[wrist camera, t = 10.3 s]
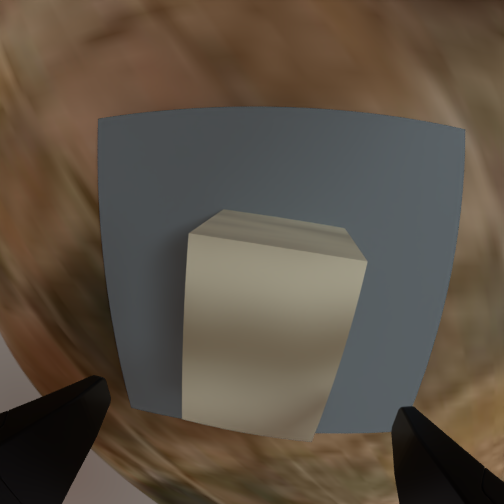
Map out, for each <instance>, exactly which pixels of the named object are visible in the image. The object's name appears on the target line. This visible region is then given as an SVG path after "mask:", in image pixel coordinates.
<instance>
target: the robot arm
mask: <svg viewBox="0 0 504 504" xmlns="http://www.w3.org/2000/svg"><path fill="white" fill-rule="evenodd" d="M110 401H111V397H110V393H109V390H108V386H107V382H106V380H105V379H104V378H103V377H99V376H95V375H93V376H90V377H88V378H85V379H83V380H81V381H79V382H76V383H74V384H72V385H69V386H67V387H64V388H62V389H60V390H57V391H55V392H53V393H50V394H48V395H45V396H43V397H40V398H38V399H36V400H33V401H31V402H28V403H26V404H23V405H21V406H18V407H16V408H13V409H11V410H9V411H6V412H3V413H0V504H62V502H63V501H64V499H65V496H66V495H67V493H68V491H69V489H70V486H71V485H72V483H73V481H74V479H75V477H76V475H77V473H78V471H79V469H80V468H81V466H82V464H83V462H84V460H85V458H86V456H87V454H88V452H89V451H90V449H91V447H92V445H93V443H94V441H95V439H96V437H97V435H98V432H99V430H100V427H101V425H102V422H103V420H104V417H105V415H106V412H107V410H108V407H109V405H110ZM391 434H392V446H393V460H394V474H395V481H396V486H397V492H398V498H399V504H504V482H503V481H502V480H500V479H499V478H498V477H497V476H495V475H494V474H493V473H492V472H490V471H489V470H488V469H487V468H485V467H484V466H483V465H482V464H481V463H480V462H478V461H477V460H476V459H475V458H474V457H472V456H471V455H470V454H469V453H468V452H467V451H465V450H464V449H463V448H462V447H461V446H459V445H458V444H457V443H456V442H455V441H454V440H452V439H451V438H450V437H449V436H448V435H446V434H445V433H444V432H443V431H442V430H441V429H439V428H438V427H437V426H436V425H435V424H434V423H432V422H431V421H430V420H429V419H428V418H426V417H425V416H424V415H423V414H422V413H421V412H419V411H418V410H417V409H416V408H415V407H413V406H404V407H400V408H399V410H398V412H397V415H396V417H395V420H394V423H393V425H392V430H391ZM484 468H485V469H484Z"/></svg>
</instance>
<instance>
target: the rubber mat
mask: <svg viewBox="0 0 504 504" xmlns="http://www.w3.org/2000/svg"><path fill="white" fill-rule="evenodd" d="M464 161H465V129H461V128H456V127H452V126H447V125H442V124H437V123H431V122H426V121H420V120H414V119H408V118H402V117H395V116H388V115H380V114H372V113H363V112H353V111H343V110H330V109H316V108H296V107H212V108H192V109H178V110H165V111H155V112H145V113H136V114H128V115H120V116H113V117H106V118H100V119H98V192H99V211H100V226H101V238H102V249H103V259H104V267H105V276H106V283H107V291H108V298H109V304H110V310H111V317H112V322H113V328H114V334H115V339H116V344H117V349H118V354H119V359H120V363H121V368H122V372H123V377H124V381H125V385H126V389H127V393H128V397H129V401H130V405H131V408H135V409H139V410H143V411H147V412H152V413H156V414H161V415H166V416H171V417H176V418H181V419H182V358H183V324H184V300H185V281H186V265H187V250H188V236H189V233H190V232H191V231H193V230H194V229H195V228H197V227H198V226H200V225H201V224H203V223H204V222H206V221H207V220H209V219H210V218H211V217H213V216H214V215H216V214H217V213H219V212H220V211H222V210H223V209H225V210H233V211H240V212H246V213H253V214H260V215H267V216H273V217H280V218H286V219H292V220H299V221H305V222H311V223H317V224H323V225H329V226H335V227H341V228H345V229H346V231H347V232H348V234H349V235H350V236H351V238H352V239H353V241H354V242H355V244H356V245H357V247H358V248H359V250H360V251H361V252H362V254H363V255H364V257H365V258H366V260H367V261H368V262H367V266H366V271H365V275H364V279H363V283H362V287H361V291H360V295H359V299H358V302H357V306H356V310H355V314H354V317H353V321H352V324H351V328H350V331H349V335H348V338H347V341H346V345H345V348H344V351H343V355H342V358H341V361H340V364H339V367H338V370H337V373H336V376H335V379H334V382H333V385H332V388H331V391H330V394H329V397H328V400H327V402H326V405H325V408H324V411H323V413H322V416H321V419H320V422H319V424H318V427H317V429H316V432H315V433H375V432H391V430H392V425H393V423H394V420H395V417H396V415H397V412H398V410H399V408H400V407H404V406H412V405H413V403H414V400H415V398H416V395H417V392H418V390H419V387H420V384H421V381H422V378H423V376H424V373H425V370H426V367H427V364H428V361H429V357H430V354H431V351H432V348H433V344H434V341H435V338H436V334H437V330H438V327H439V323H440V319H441V315H442V311H443V307H444V303H445V299H446V295H447V290H448V286H449V281H450V276H451V271H452V265H453V260H454V254H455V248H456V242H457V235H458V228H459V220H460V212H461V202H462V192H463V179H464Z"/></svg>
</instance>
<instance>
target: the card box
mask: <svg viewBox="0 0 504 504" xmlns="http://www.w3.org/2000/svg"><path fill="white" fill-rule="evenodd" d="M367 262H368V261H367V260H366V258H365V257H364V255H363V254H362V252H361V251H360V250H359V248H358V247H357V245H356V244H355V242H354V241H353V239H352V238H351V236H350V235H349V234H348V232H347V231H346V229H345V228H341V227H335V226H329V225H323V224H317V223H311V222H305V221H299V220H292V219H286V218H280V217H273V216H267V215H260V214H253V213H246V212H240V211H233V210H225V209H223V210H222V211H220V212H219V213H217V214H216V215H214V216H213V217H211V218H210V219H209V220H207V221H206V222H204V223H203V224H201V225H200V226H198V227H197V228H195V229H194V230H193V231H191V232H190V233H189V236H188V250H187V265H186V281H185V300H184V324H183V358H182V419H184V420H188V421H192V422H196V423H200V424H204V425H209V426H213V427H218V428H222V429H227V430H232V431H238V432H243V433H249V434H254V435H261V436H267V437H274V438H281V439H289V440H297V441H306V442H312V440H313V437H314V435H315V432H316V429H317V427H318V424H319V422H320V419H321V416H322V413H323V411H324V408H325V405H326V402H327V400H328V397H329V394H330V391H331V388H332V385H333V382H334V379H335V376H336V373H337V370H338V367H339V364H340V361H341V358H342V355H343V351H344V348H345V345H346V341H347V338H348V335H349V331H350V328H351V324H352V321H353V317H354V314H355V310H356V306H357V302H358V299H359V295H360V291H361V287H362V283H363V279H364V275H365V271H366V266H367Z"/></svg>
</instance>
